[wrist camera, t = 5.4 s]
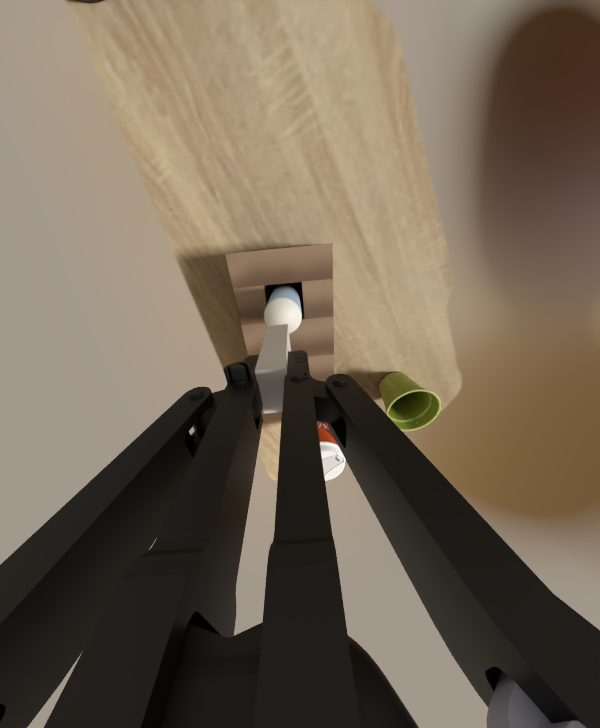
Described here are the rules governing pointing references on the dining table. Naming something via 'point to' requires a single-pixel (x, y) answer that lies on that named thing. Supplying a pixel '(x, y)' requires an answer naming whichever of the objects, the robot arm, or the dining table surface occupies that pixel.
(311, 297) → the collar block
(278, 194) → the dining table surface
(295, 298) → the peg
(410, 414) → the plant pot
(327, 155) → the dining table surface
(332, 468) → the coffee cup
